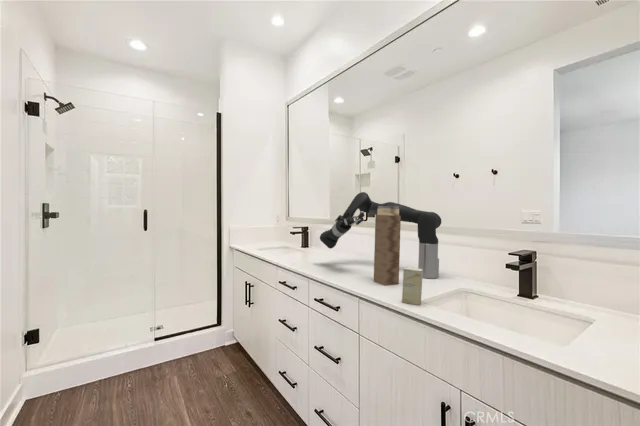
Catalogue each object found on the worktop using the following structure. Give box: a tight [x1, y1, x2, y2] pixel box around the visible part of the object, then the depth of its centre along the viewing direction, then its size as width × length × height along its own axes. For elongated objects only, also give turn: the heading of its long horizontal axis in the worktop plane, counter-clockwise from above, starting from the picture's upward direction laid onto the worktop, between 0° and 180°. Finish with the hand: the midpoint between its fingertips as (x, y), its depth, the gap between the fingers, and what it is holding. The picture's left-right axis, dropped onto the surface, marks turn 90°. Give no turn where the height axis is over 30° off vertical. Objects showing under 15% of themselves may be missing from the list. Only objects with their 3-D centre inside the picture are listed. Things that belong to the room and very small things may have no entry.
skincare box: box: [401, 266, 423, 306], centre depth 105 cm, size 6×4×12 cm
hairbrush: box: [368, 206, 399, 216], centre depth 137 cm, size 6×16×4 cm, turn 26°
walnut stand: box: [373, 215, 402, 287], centre depth 133 cm, size 8×8×31 cm
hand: (356, 213), depth 146 cm, fingers open, 8 cm apart
